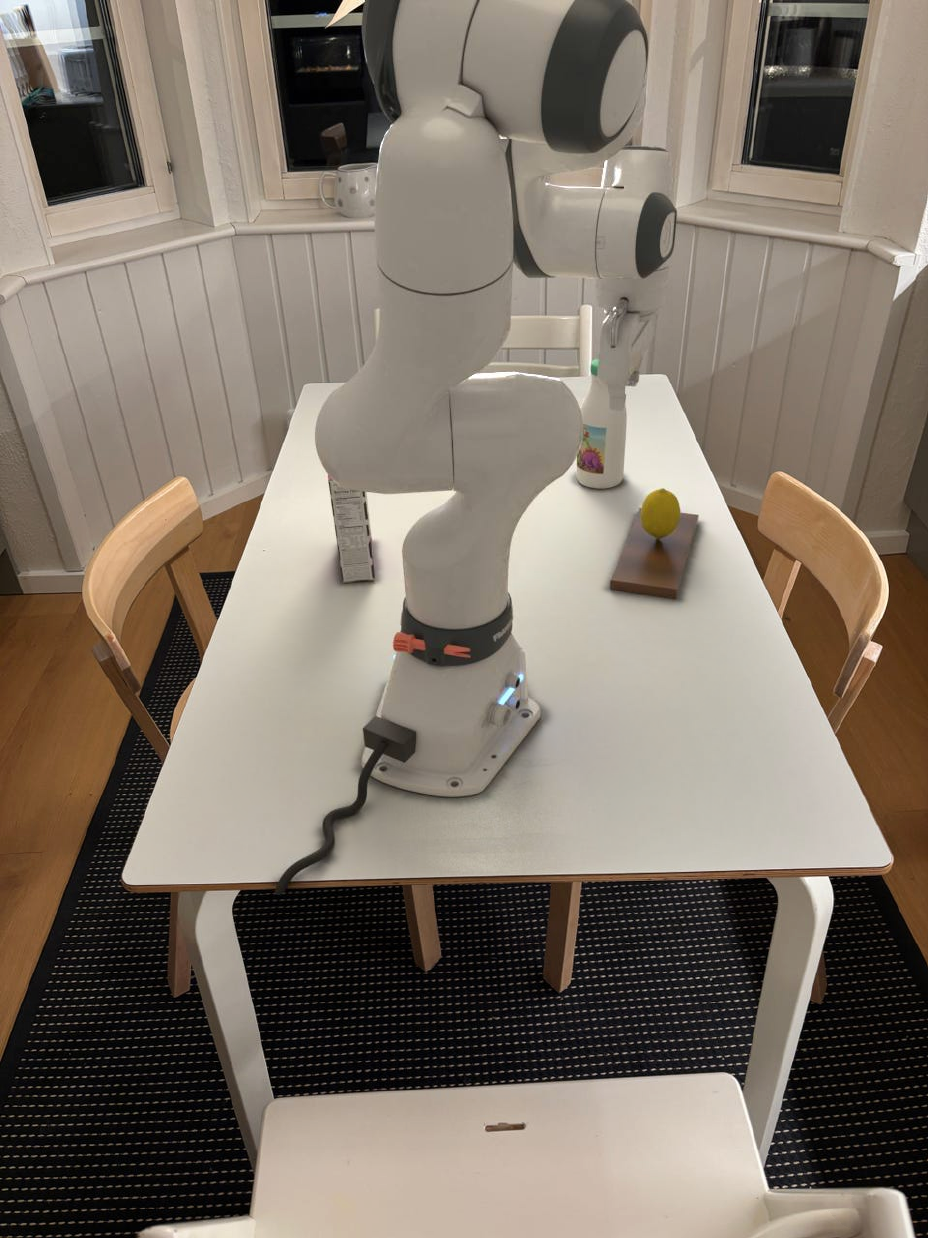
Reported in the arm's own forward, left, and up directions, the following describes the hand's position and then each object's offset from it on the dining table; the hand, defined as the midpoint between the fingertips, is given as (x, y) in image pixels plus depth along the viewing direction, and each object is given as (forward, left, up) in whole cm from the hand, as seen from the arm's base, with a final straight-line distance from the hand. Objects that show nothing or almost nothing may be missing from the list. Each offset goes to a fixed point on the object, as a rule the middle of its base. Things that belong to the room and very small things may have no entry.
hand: (624, 396), depth 126 cm
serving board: (0, -6, -23) cm, 24 cm away
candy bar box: (-14, +35, -24) cm, 44 cm away
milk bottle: (+22, +7, -24) cm, 33 cm away
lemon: (+2, -6, -22) cm, 23 cm away
